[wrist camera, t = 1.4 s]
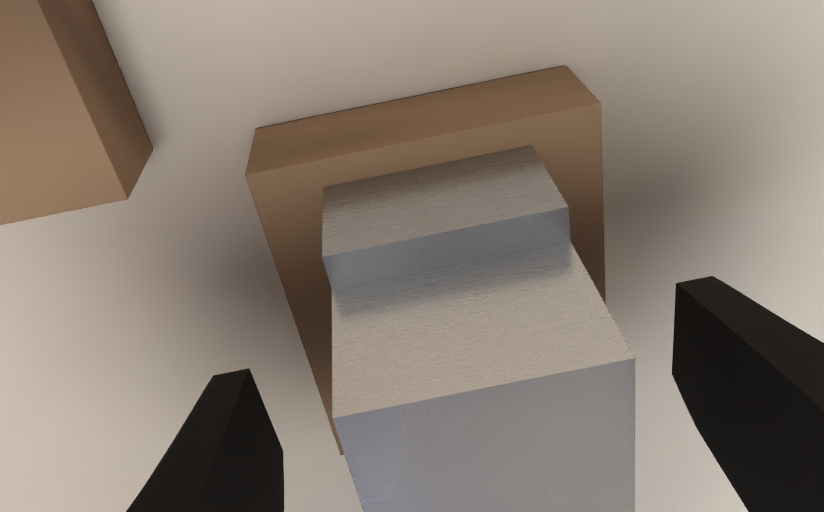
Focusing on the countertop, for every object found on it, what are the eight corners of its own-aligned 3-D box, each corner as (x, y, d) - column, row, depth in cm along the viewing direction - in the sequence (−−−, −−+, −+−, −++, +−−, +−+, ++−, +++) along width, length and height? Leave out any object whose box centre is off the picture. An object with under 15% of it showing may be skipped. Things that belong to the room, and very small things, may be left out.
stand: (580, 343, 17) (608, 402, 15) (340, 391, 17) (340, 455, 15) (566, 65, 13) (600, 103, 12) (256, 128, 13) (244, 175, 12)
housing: (553, 396, 15) (633, 609, 11) (389, 429, 15) (412, 653, 11) (531, 144, 12) (634, 318, 8) (323, 187, 12) (319, 380, 8)
